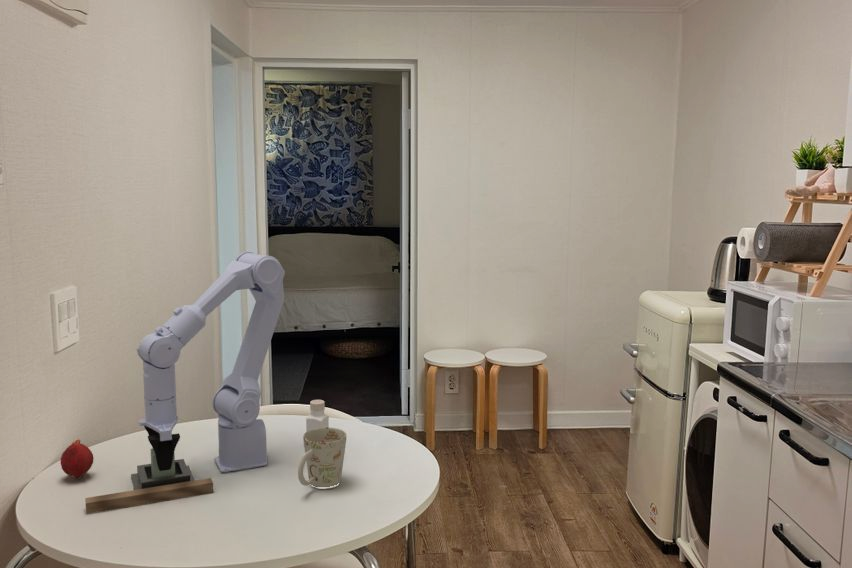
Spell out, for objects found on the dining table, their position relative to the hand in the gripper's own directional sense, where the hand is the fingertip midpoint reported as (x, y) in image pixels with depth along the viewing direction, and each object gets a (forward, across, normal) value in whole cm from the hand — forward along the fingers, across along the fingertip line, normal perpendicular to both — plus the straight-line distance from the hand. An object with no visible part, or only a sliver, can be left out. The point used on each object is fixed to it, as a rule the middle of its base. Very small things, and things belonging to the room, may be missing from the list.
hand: (163, 463), depth 145 cm
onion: (+4, -9, -15) cm, 18 cm away
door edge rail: (+4, +7, -3) cm, 9 cm away
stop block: (+3, 0, 0) cm, 3 cm away
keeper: (+4, 0, 0) cm, 4 cm away
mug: (+4, +14, +27) cm, 31 cm away
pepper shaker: (+4, -9, +34) cm, 35 cm away
